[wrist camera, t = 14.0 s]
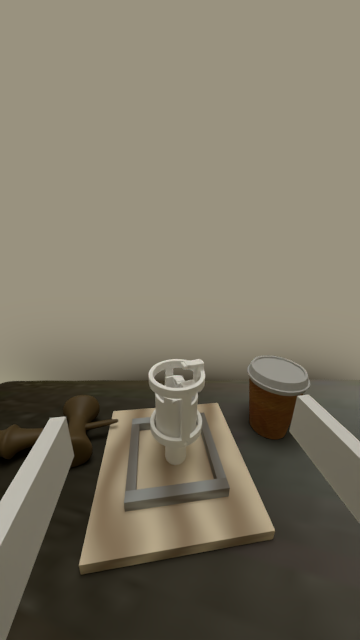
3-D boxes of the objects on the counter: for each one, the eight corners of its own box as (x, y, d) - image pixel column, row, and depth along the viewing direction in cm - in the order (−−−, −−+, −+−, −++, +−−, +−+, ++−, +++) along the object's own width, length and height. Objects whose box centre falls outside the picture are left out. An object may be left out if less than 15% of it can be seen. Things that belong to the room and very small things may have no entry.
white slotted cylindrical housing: (208, 469, 28) (216, 374, 24) (158, 488, 26) (156, 387, 21) (188, 429, 35) (191, 348, 30) (146, 442, 32) (143, 356, 28)
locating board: (216, 409, 42) (218, 396, 41) (272, 539, 23) (277, 521, 22) (114, 417, 39) (112, 404, 38) (80, 574, 20) (76, 556, 19)
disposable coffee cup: (230, 422, 38) (237, 365, 35) (256, 400, 44) (265, 349, 41) (282, 459, 32) (297, 394, 28) (304, 427, 38) (320, 369, 34)
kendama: (-2, 436, 35) (120, 413, 40) (-43, 499, 26) (120, 460, 31) (-13, 408, 33) (117, 387, 38) (-61, 467, 24) (116, 430, 29)
